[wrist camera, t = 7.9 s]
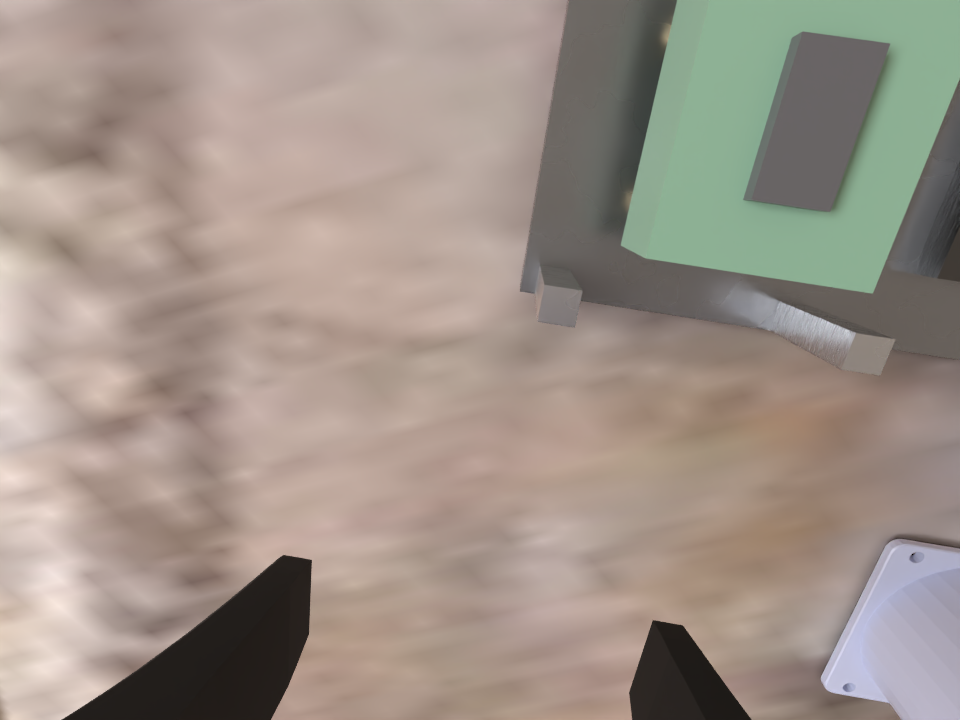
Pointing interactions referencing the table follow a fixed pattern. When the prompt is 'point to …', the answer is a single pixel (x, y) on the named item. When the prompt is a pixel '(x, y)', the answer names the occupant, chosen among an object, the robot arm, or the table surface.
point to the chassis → (704, 291)
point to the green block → (792, 135)
